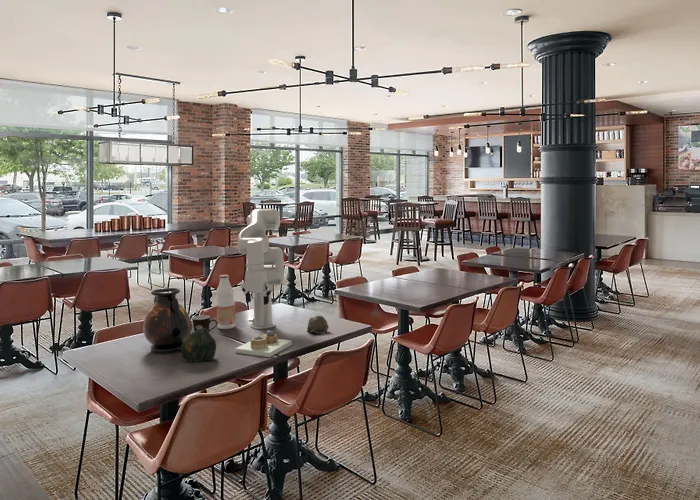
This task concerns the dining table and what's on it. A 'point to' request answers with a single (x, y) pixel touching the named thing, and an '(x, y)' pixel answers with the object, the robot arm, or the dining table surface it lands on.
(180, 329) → the amphora vase
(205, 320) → the coffee mug
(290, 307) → the dining table surface
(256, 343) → the maple gear
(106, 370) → the dining table surface
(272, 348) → the gear board
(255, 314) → the robot arm
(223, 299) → the fruit juice
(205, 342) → the squash
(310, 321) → the grey lumpy stone
